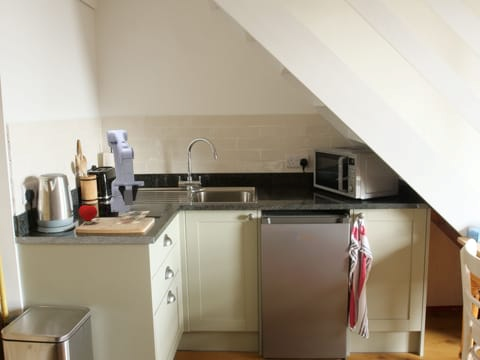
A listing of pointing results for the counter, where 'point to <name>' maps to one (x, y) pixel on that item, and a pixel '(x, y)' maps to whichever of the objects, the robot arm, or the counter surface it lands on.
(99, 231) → the counter surface
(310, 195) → the counter surface
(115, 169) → the robot arm
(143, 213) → the socket board
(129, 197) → the plug
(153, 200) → the counter surface
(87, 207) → the red heart ornament
